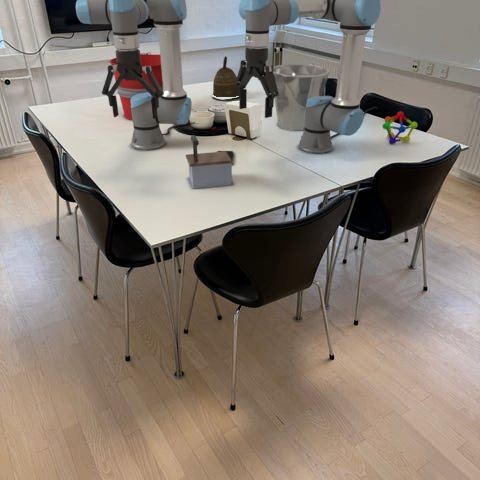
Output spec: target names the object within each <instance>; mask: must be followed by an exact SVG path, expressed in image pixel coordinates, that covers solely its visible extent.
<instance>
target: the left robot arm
mask: <svg viewBox="0 0 480 480" xmlns="http://www.w3.org/2000/svg"><path fill="white" fill-rule="evenodd" d="M187 11H188V9H187V3H186V0H76V2H75V13H76V17H77V19H78V21H80V23H82V24H87V25H88V24H89V25H111V28H112V35H113V36H112V37H113V42H114V48H115V58H116V59H117V66H114V65H113V64H111V63H110V65H107V75H106V78H105V81H104V84H103V87H102V90H101V94H102V95H104V96H107V97H108V105H109V107H111V108H112V114H113V118H117V117H118V116H119V115H120V114H119V108H118V107H119V106H118V100H117V95H116V94H115V93H116V91H118V89H117V88H118V87H119V85H120V84H121V82H122V81H123V80H126V81H128V80H132V81H135V80H137V81H138V82H140V83H141V84H142V85H143V87H144V88H145V89H146V90H147V91H148V92H145V93H140V94H136V95H134V96H133V97H132V98H131V111H132V118H133V120H132V125H133V132H132V135H131V147H132V148H134V149H135V150H141V151H151V150H153V151H154V150H157V149H161V148H163V147H164V146H165V144H166V140H165V137H164V136H168V135H169V134H170V130H171V129H173V128H174V129H175V128H178V127H183V126H186V125H191V124H190V122H191V121H190V122H189V120H190V118H191V113H192V99H191V97H189V96H188V93H187V91H185V89H184V84H183V67H182V51H181V50H182V49H181V34H180V33H181V31H180V29H181V28H182V26H183V25H184V23H183V21H184V20H186V19H187V15H188V13H187ZM147 20H153V25H154V27H155V28H156V29H157V32H158V44H159V55H160V57H161V69H162V81H163V90H162V89H161V87H160V85H159V83H158V81H157V80H156V78H155V76H154V74H153V72H152V67H151V66H150V65H149V66H146V67H142V65H141V56H140V54H141V50H140V39H139V31H138V25H142V24H143V23H144V22H146V21H147ZM116 70H117V71H118V72H119V74H120V76H119V77H118V79H117V81H116V80H115V82H114V84H113V85H112V86H111V84H112V81H113V79H114V72H116ZM143 71H144V72H145V73H146V74H147V76H148V78H149V80H150V81H151V83H152V85H153V87H154V89H155V90H156V91H155V90H154V89H153V87H152V86H151V85H150V84H149V83H148V82H147V81H146V79H145V78H144V76H143V75H142V74H141V73H142V72H143ZM110 87H111V88H110ZM160 124H161V125H164V124H165V125H172V126H170V127H168V128H167V132H165V133H163V132H162V130H161V127H160Z"/></svg>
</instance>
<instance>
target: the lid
mask: <svg viewBox="0 0 480 480" xmlns="http://www.w3.org/2000/svg"><path fill="white" fill-rule="evenodd" d="M190 140H191V143H192V151H193V152H192V153H189V154H185V158H186V162H187V164H188V167H189V166H190V167H193V166H203V165H214V164H225V163H232V164H233V162H232V160H231V159H230V157H229V155H228V154H227V152H226V151H227V150H221V151H222V152H217V151H212V152H201V153H200V152H198V146H199V145H200V142H199V140H198V138H197V136H196V135H195V134H193V135H191V136H190Z"/></svg>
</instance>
